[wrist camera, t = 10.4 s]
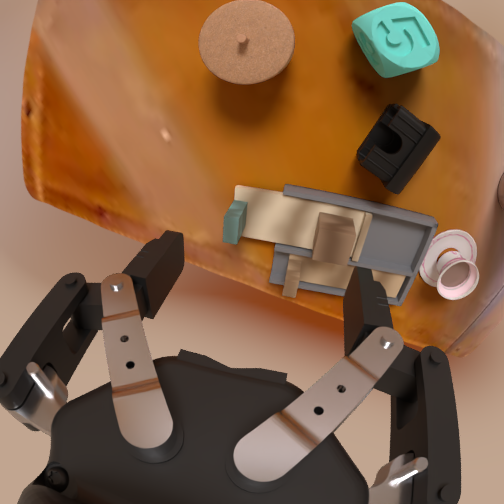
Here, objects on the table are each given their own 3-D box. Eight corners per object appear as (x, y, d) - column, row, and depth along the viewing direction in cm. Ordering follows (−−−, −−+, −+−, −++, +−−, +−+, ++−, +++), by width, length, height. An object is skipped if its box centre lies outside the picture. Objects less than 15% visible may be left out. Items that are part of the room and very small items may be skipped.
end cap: (391, 183, 39) (403, 201, 33) (353, 155, 38) (359, 169, 32) (429, 130, 33) (448, 141, 28) (391, 99, 32) (405, 104, 27)
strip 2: (404, 272, 45) (413, 297, 40) (394, 294, 48) (400, 320, 43) (290, 250, 47) (286, 274, 42) (285, 274, 50) (281, 300, 45)
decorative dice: (425, 61, 28) (448, 59, 21) (377, 78, 31) (392, 78, 25) (397, 10, 25) (415, -3, 18) (347, 27, 28) (355, 15, 22)
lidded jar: (310, 68, 32) (309, 65, 25) (236, 94, 36) (215, 100, 29) (279, 1, 28) (269, -19, 20) (207, 31, 32) (178, 21, 24)
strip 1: (370, 209, 41) (377, 231, 35) (356, 254, 45) (360, 279, 40) (236, 184, 43) (224, 202, 38) (233, 231, 48) (222, 253, 42)
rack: (433, 216, 40) (438, 224, 38) (398, 296, 49) (400, 306, 47) (285, 183, 42) (283, 189, 40) (271, 273, 52) (269, 282, 50)
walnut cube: (352, 218, 41) (356, 235, 37) (344, 247, 44) (346, 266, 40) (319, 211, 42) (319, 228, 38) (313, 241, 44) (312, 259, 40)
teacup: (405, 273, 47) (413, 297, 41) (441, 217, 40) (455, 237, 35) (451, 292, 46) (461, 315, 41) (486, 243, 39) (501, 263, 34)
